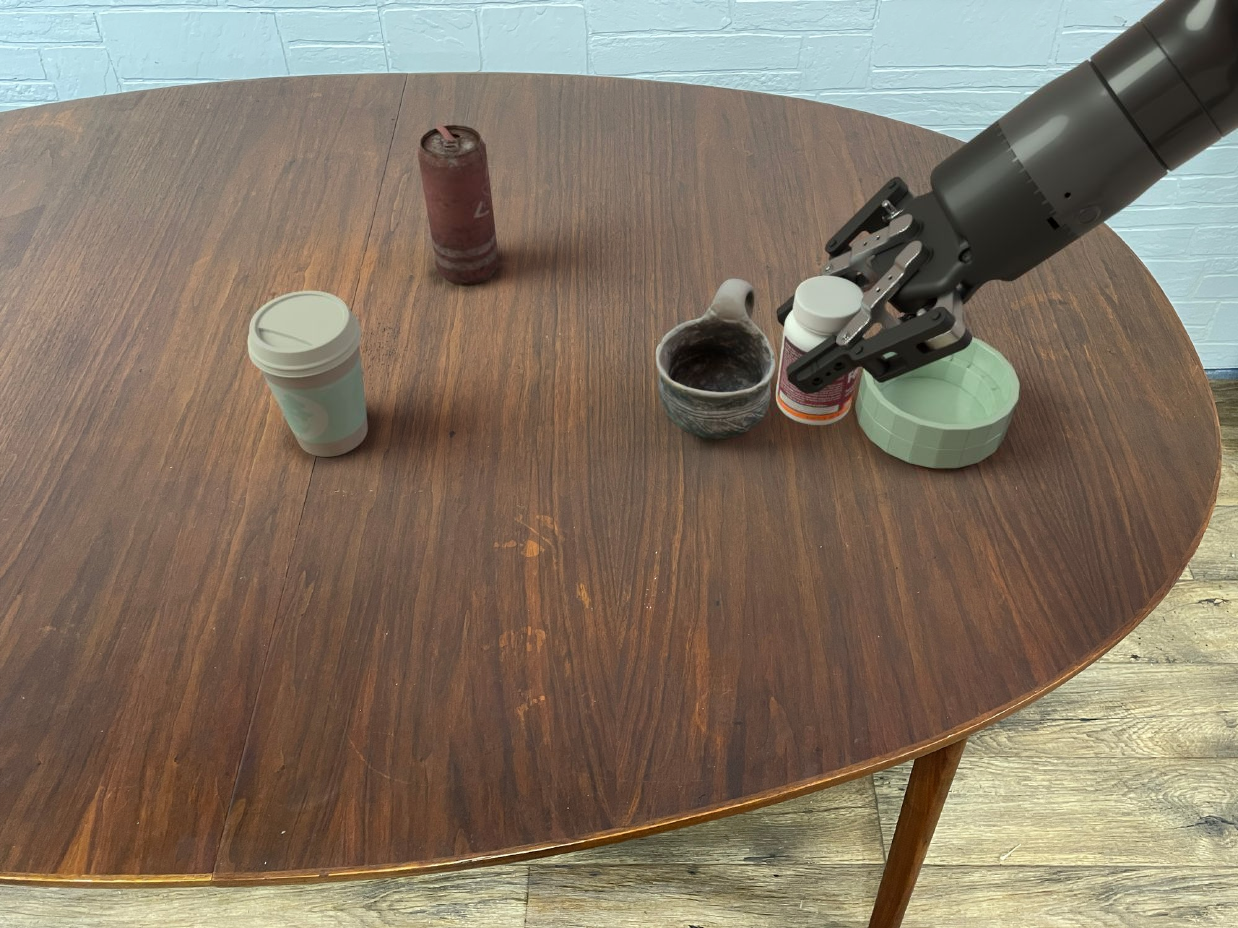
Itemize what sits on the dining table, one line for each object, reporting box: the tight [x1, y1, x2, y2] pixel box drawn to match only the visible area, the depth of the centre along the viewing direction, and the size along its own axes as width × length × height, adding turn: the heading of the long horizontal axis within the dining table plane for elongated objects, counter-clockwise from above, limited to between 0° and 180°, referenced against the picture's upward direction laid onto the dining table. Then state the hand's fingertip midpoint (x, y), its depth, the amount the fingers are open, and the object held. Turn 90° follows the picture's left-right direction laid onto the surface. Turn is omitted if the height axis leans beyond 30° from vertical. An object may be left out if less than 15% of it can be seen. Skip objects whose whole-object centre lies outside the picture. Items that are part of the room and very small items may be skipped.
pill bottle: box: [775, 275, 866, 426], centre depth 63 cm, size 5×5×8 cm
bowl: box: [854, 336, 1021, 469], centre depth 86 cm, size 12×12×5 cm
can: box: [417, 124, 500, 286], centre depth 98 cm, size 6×6×14 cm
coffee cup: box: [247, 290, 369, 458], centre depth 83 cm, size 9×8×12 cm
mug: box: [655, 278, 776, 440], centre depth 85 cm, size 10×12×10 cm
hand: (791, 352), depth 63 cm, fingers closed on pill bottle, 4 cm apart
